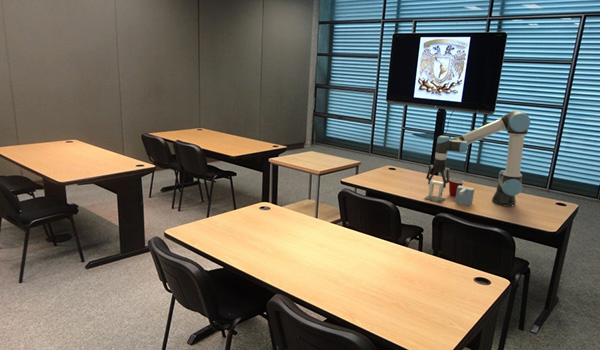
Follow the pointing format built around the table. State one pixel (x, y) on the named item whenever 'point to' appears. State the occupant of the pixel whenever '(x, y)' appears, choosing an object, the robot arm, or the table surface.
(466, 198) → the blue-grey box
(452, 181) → the plastic cup
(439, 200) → the rubber mat
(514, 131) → the robot arm
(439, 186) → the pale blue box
